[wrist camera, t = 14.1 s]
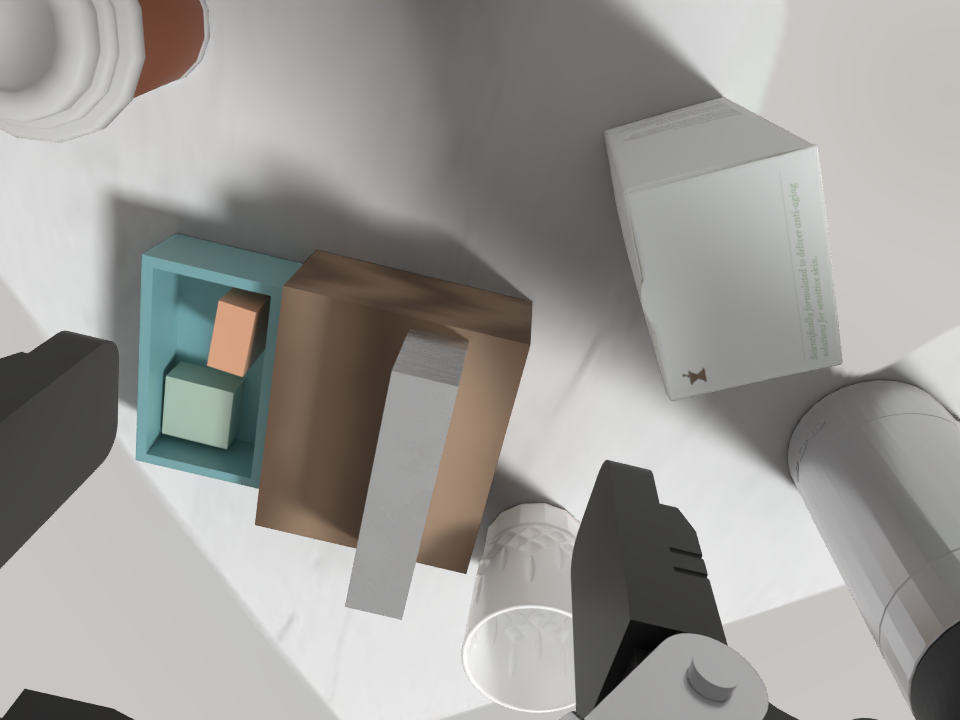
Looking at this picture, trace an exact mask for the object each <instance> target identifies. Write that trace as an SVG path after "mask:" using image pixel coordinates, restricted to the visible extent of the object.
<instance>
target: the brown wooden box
mask: <svg viewBox="0 0 960 720" xmlns="http://www.w3.org/2000/svg"><path fill="white" fill-rule="evenodd" d="M531 322H532V302H531V301H526V300H522V299H518V298H514V297H510V296H506V295H502V294H497V293H493V292H489V291H485V290H481V289H477V288H473V287H468V286H464V285H460V284H456V283H452V282H448V281H443V280H439V279H435V278H431V277H427V276H423V275H419V274H414V273H410V272H406V271H402V270H398V269H394V268H390V267H385V266H381V265H377V264H373V263H369V262H365V261H360V260H356V259H352V258H348V257H344V256H340V255H336V254H331V253H327V252H323V251H319V250H316V251H315V252H314V253H313V254H312V255H311V256H310V257H309V258H308V260H307V261H306V262H305V263H304V264H303V265H302V266H301V267H300V268H299V269H298V270H297V271H296V272H295V273H294V275H293V276H292V277H291V278H290V279H289V280H288V281H287V282H286V283H285V284H284V285H283V290H282V299H281V307H280V316H279V324H278V333H277V341H276V350H275V358H274V367H273V375H272V384H271V392H270V401H269V409H268V418H267V426H266V435H265V443H264V452H263V460H262V469H261V477H260V486H259V494H258V503H257V511H256V520H255V525H257V526H262V527H266V528H270V529H275V530H279V531H283V532H288V533H292V534H296V535H301V536H305V537H309V538H313V539H318V540H322V541H326V542H331V543H335V544H339V545H344V546H348V547H352V548H357V544H358V539H359V534H360V529H361V523H362V518H363V513H364V508H365V503H366V498H367V493H368V488H369V483H370V478H371V473H372V468H373V463H374V458H375V453H376V448H377V443H378V438H379V433H380V428H381V423H382V418H383V413H384V408H385V403H386V397H387V392H388V387H389V382H390V377H391V372H392V369H393V367H394V364H395V362H396V360H397V357H398V355H399V353H400V350H401V348H402V345H403V343H404V341H405V338H406V336H407V334H408V331H409V329H410V327H413V328H418V329H422V330H426V331H430V332H434V333H438V334H442V335H446V336H451V337H455V338H459V339H463V340H467V341H469V344H468V348H467V353H466V357H465V361H464V366H463V370H462V374H461V379H460V383H459V387H458V391H457V395H456V400H455V404H454V408H453V412H452V416H451V420H450V424H449V428H448V432H447V436H446V440H445V445H444V449H443V453H442V457H441V461H440V465H439V469H438V473H437V477H436V481H435V485H434V490H433V494H432V498H431V502H430V506H429V510H428V514H427V518H426V522H425V526H424V531H423V535H422V539H421V543H420V547H419V551H418V555H417V559H416V562H417V563H421V564H425V565H430V566H434V567H438V568H443V569H447V570H451V571H456V572H460V573H464V574H466V573H467V569H468V566H469V562H470V559H471V555H472V552H473V548H474V544H475V541H476V537H477V534H478V530H479V527H480V523H481V519H482V516H483V512H484V509H485V505H486V502H487V498H488V494H489V491H490V487H491V484H492V480H493V477H494V473H495V469H496V466H497V462H498V459H499V455H500V452H501V448H502V444H503V441H504V437H505V434H506V430H507V427H508V423H509V419H510V416H511V412H512V409H513V405H514V402H515V398H516V394H517V391H518V387H519V384H520V380H521V377H522V373H523V369H524V366H525V362H526V359H527V355H528V352H529V348H530V341H531Z"/></svg>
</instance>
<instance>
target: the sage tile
mask: <svg viewBox="0 0 960 720" xmlns="http://www.w3.org/2000/svg"><path fill="white" fill-rule="evenodd" d="M245 380H246V378H245V377H241V376H237V375H233V374H229V373H225V372H221V371H217V370H214V369H210V368H206V367H202V366H198V365H194V364H190V363H186V362H182V361H181V362H180V363H179V364H178V365H177V366H176V367H175V368H174V369H172V370H171V371H170V372H169V373H168V374H167V375H166V383H165V397H164V411H163V426H162V433H163V434H167V435H171V436H175V437H179V438H183V439H187V440H191V441H195V442H199V443H203V444H207V445H211V446H215V447H219V448H223V449H228V447H229V446H230V444H231V443H232V442H233V440H234V439H235V437H236V436H237V435H238V433H239V429H240V421H241V412H242V404H243V396H244V388H245Z"/></svg>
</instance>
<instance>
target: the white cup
mask: <svg viewBox="0 0 960 720" xmlns="http://www.w3.org/2000/svg"><path fill="white" fill-rule="evenodd" d="M580 525H581V524H580V523H579V522H578V521H577V520H576V519H575V518H574V517H572V516H571V515H570V514H569V513H568V512H567V511H566V510H563V509H560V508H557V507H554V506H552V505H549V504H546V503H528V504H520V505H517V506H515V507H513V508H510V509H508V510H506V511H504V512H502V513H500V515H499V516H498V517H497V518H496V519H495V520H494V522H493V523H492V524H491V525H490V526H489V528H488V531H487V536H486V542H485V548H484V551H483V555H482V558H481V560H480V562H479V567H478V571H477V575H476V579H475V584H474V590H473V595H472V600H471V605H470V610H469V616H468V621H467V626H466V631H465V636H464V641H463V647H462V664H463V668H464V671H465V673H466V675H467V677H468V679H469V680H470V682H471V683H472V684H473V686H474V687H475V688H476V689H477V690H478V691H479V692H481V693H482V694H483V695H484V696H486V697H487V698H489V699H490V700H492V701H494V702H496V703H498V704H500V705H502V706H505V707H508V708H511V709H515V710H520V711H525V712H552V711H557V710H561V709H565V708H568V707H571V706H573V705H576V696H575V671H574V646H573V621H572V596H571V560H572V554H573V548H574V544H575V540H576V536H577V533H578V530H579V527H580Z"/></svg>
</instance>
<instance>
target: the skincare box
mask: <svg viewBox="0 0 960 720" xmlns="http://www.w3.org/2000/svg"><path fill="white" fill-rule="evenodd" d="M604 137H605V144H606V149H607V155H608V160H609V166H610V172H611V177H612V183H613V189H614V195H615V201H616V206H617V211H618V215H619V220H620V224H621V229H622V233H623V237H624V242H625V246H626V250H627V254H628V258H629V262H630V265H631V269H632V273H633V276H634V280H635V283H636V287H637V290H638V294H639V298H640V301H641V305H642V309H643V312H644V316H645V319H646V323H647V327H648V330H649V334H650V337H651V341H652V344H653V348H654V351H655V355H656V358H657V362H658V365H659V368H660V371H661V375H662V378H663V382H664V386H665V390H666V393H667V395H668V397H669V398H670V399H671V401H675V400H679V399H683V398H688V397H693V396H697V395H702V394H707V393H711V392H716V391H720V390H724V389H729V388H733V387H738V386H742V385H746V384H751V383H755V382H760V381H764V380H768V379H773V378H777V377H782V376H787V375H792V374H797V373H802V372H807V371H812V370H816V369H821V368H826V367H831V366H835V365H840V364H842V353H841V345H840V335H839V325H838V316H837V307H836V298H835V289H834V280H833V271H832V262H831V253H830V245H829V244H830V243H829V234H828V226H827V218H826V209H825V201H824V194H823V186H822V177H821V169H820V163H819V157H818V150H817V146H816V145H815V144H811V143H809V142H807V141H805V140H804V139H802V138H800V137H798V136H796V135H794V134H792V133H790V132H789V131H786V130H785V129H783V128H781V127H779V126H777V125H775V124H773V123H771V122H769V121H768V120H766V119H764V118H762V117H761V116H758V115H756V114H754V113H753V112H751V111H749V110H747V109H745V108H744V107H742V106H740V105H738V104H736V103H734V102H732V101H730V100H729V99H727V98H725V97H722V98H718V99H714V100H710V101H706V102H702V103H699V104H695V105H692V106H688V107H684V108H681V109H677V110H674V111H670V112H667V113H664V114H660V115H657V116H653V117H650V118H646V119H643V120H639V121H636V122H632V123H629V124H626V125H622V126H619V127H615V128H612V129H608V130H605V131H604Z"/></svg>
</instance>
